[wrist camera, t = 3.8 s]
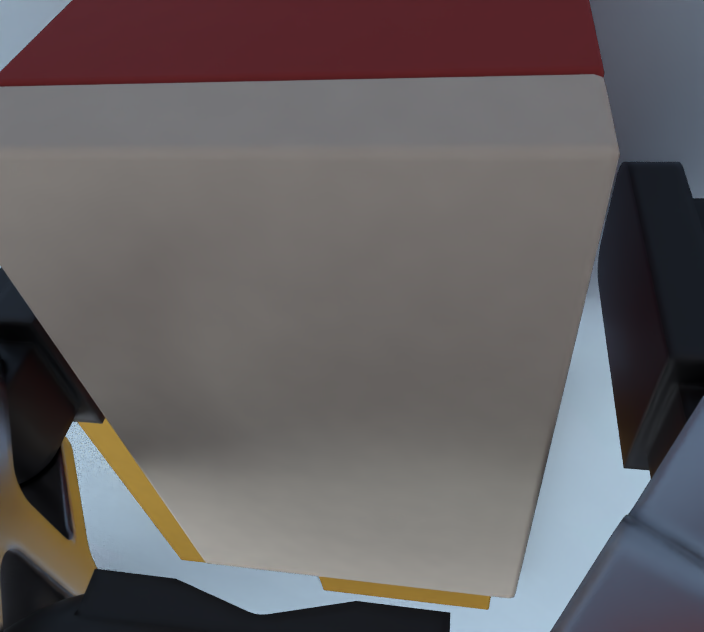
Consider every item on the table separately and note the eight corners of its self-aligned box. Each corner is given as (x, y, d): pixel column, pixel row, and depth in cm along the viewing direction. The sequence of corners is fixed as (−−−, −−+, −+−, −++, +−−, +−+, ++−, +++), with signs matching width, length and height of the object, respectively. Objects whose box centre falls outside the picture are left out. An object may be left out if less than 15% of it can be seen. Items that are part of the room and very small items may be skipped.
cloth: (52, 357, 17) (32, 392, 16) (526, 386, 15) (528, 427, 14) (185, 545, 26) (176, 573, 25) (494, 579, 24) (494, 611, 23)
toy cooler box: (163, -94, 8) (-85, 150, 5) (565, -123, 8) (624, 150, 4) (278, 317, 14) (204, 564, 11) (511, 328, 13) (514, 601, 10)
